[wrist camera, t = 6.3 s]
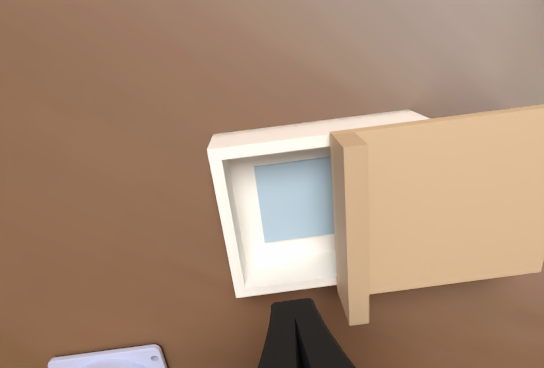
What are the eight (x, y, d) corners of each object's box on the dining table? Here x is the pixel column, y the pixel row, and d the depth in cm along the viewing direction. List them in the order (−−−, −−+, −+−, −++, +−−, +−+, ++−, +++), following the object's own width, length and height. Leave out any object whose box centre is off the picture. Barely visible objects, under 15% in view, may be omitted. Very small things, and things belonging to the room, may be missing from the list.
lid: (569, 101, 16) (625, 111, 14) (532, 265, 20) (571, 296, 17) (329, 131, 16) (343, 147, 13) (337, 291, 20) (349, 325, 17)
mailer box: (408, 109, 19) (434, 120, 16) (402, 245, 23) (423, 273, 20) (213, 134, 19) (206, 150, 16) (238, 266, 22) (236, 297, 20)
